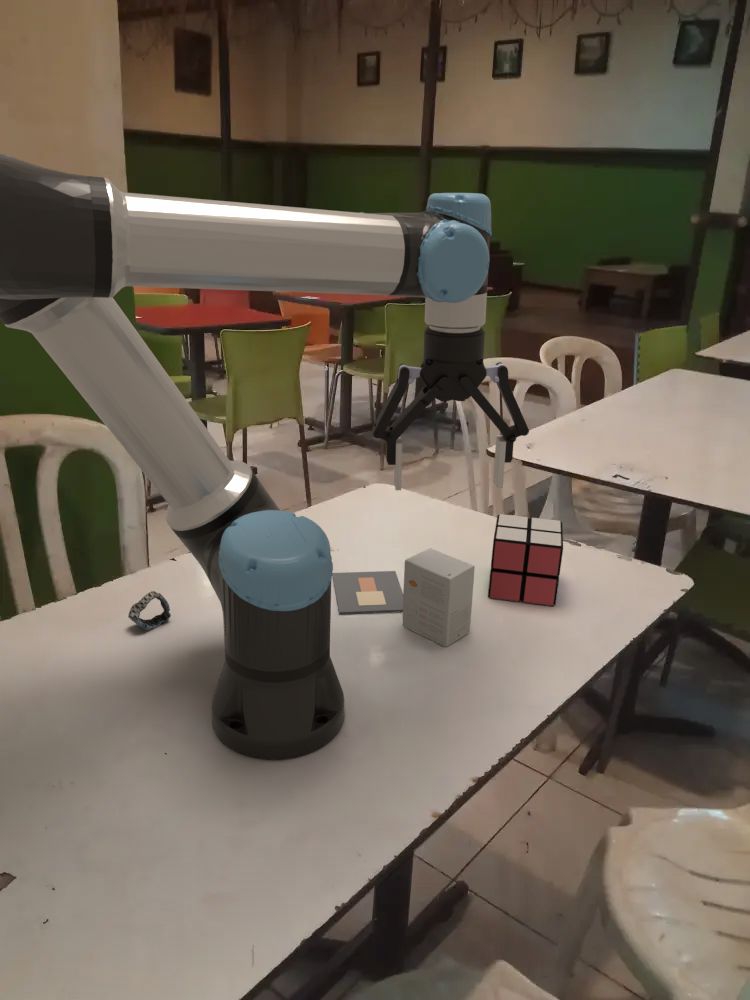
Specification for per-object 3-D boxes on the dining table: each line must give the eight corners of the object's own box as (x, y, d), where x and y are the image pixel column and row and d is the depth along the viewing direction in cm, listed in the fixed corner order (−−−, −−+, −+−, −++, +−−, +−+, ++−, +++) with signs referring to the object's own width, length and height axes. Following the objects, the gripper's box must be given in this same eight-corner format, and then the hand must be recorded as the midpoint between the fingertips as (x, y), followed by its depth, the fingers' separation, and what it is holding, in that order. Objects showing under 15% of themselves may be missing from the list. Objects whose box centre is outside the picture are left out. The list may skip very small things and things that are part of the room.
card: (339, 614, 112) (339, 611, 112) (332, 575, 123) (332, 572, 123) (408, 611, 113) (408, 608, 113) (395, 573, 124) (395, 570, 124)
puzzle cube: (555, 608, 116) (563, 547, 112) (487, 599, 118) (493, 539, 114) (554, 577, 125) (562, 519, 121) (491, 569, 127) (497, 512, 123)
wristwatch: (148, 628, 109) (123, 613, 106) (173, 601, 110) (149, 585, 106) (156, 640, 107) (131, 626, 104) (182, 612, 108) (158, 596, 104)
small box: (470, 633, 109) (476, 565, 105) (445, 649, 105) (451, 579, 101) (426, 611, 114) (430, 546, 110) (400, 626, 110) (404, 558, 106)
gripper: (546, 320, 101) (532, 473, 109) (352, 321, 100) (354, 477, 108) (562, 331, 94) (546, 494, 102) (355, 333, 93) (356, 498, 101)
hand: (447, 485), depth 105 cm, fingers open, 13 cm apart
